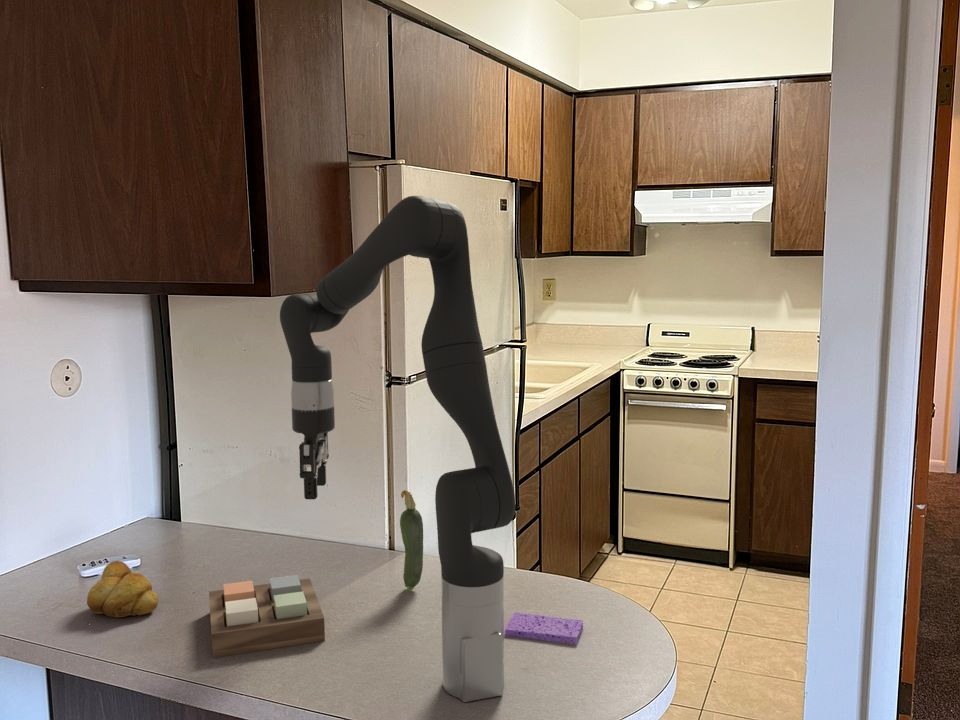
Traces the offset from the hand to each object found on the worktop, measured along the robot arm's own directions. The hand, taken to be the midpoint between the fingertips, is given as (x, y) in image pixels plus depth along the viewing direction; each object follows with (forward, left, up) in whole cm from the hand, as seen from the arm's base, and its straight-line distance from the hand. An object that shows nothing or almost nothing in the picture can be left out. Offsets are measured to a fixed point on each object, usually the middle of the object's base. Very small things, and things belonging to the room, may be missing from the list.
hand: (315, 491), depth 155 cm
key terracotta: (-3, +14, -18) cm, 23 cm away
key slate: (-3, +6, -18) cm, 19 cm away
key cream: (-11, +14, -18) cm, 26 cm away
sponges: (-25, -35, -22) cm, 48 cm away
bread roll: (+8, +34, -22) cm, 41 cm away
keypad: (-7, +10, -21) cm, 25 cm away
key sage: (-11, +6, -18) cm, 22 cm away
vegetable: (-1, -18, -21) cm, 28 cm away
